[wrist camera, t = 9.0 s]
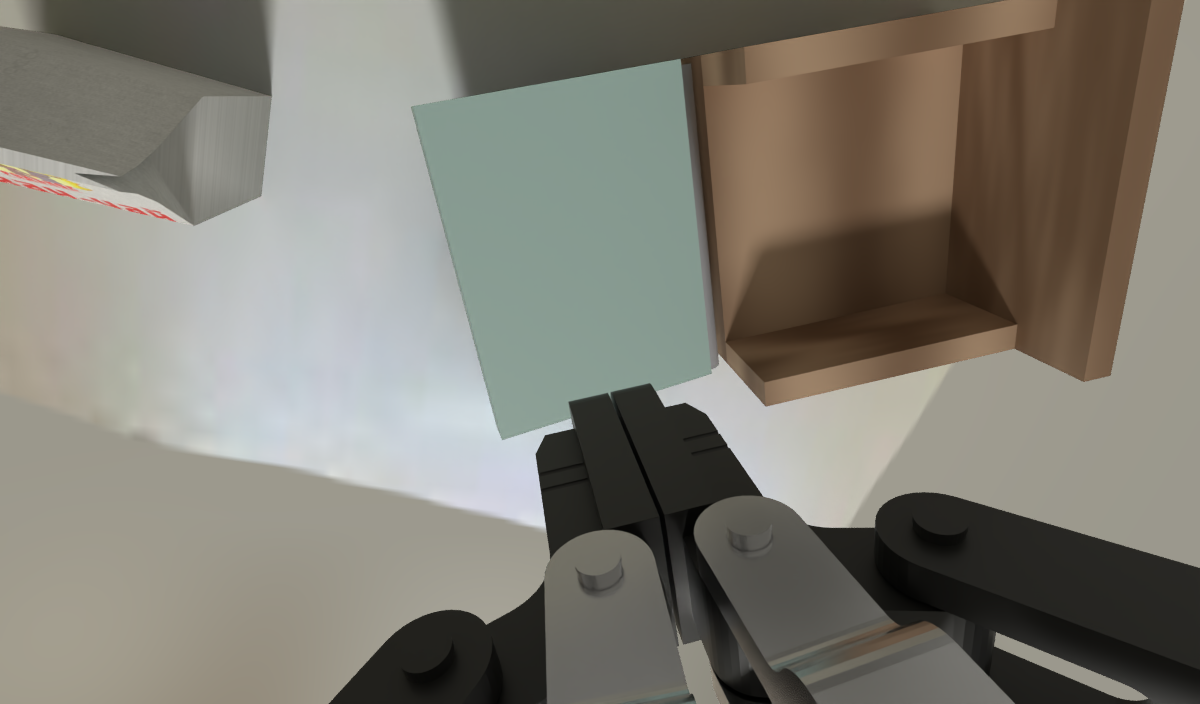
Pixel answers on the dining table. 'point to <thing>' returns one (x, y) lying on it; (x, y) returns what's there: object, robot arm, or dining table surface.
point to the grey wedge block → (126, 130)
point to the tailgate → (576, 236)
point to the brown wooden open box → (930, 189)
